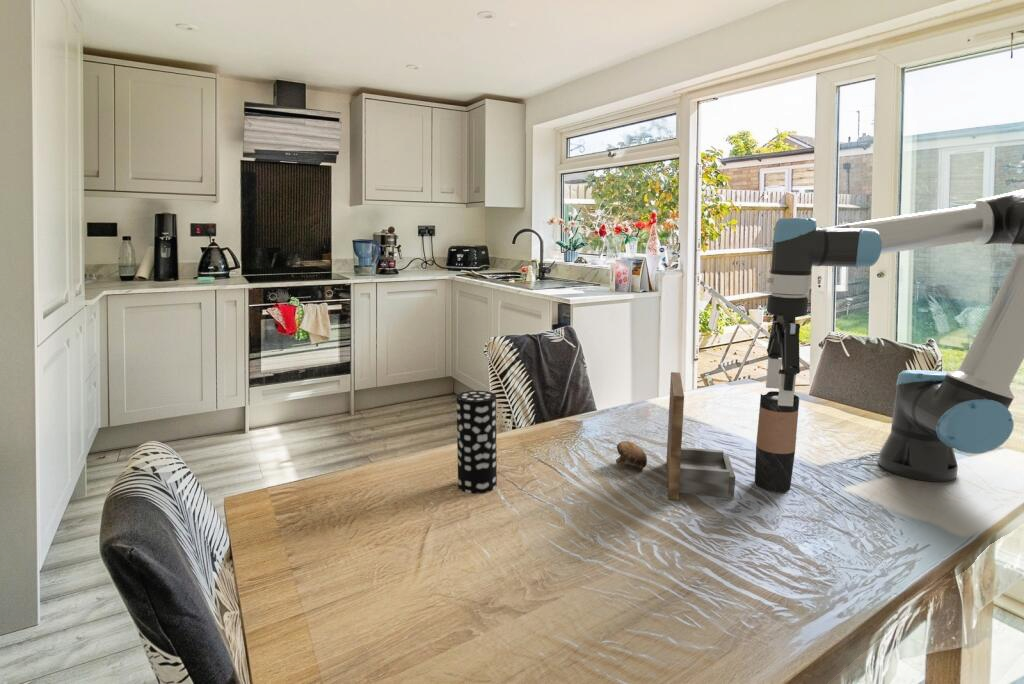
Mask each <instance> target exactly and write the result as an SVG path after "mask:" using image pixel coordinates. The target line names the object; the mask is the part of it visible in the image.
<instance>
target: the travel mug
mask: <svg viewBox="0 0 1024 684" xmlns="http://www.w3.org/2000/svg"><path fill="white" fill-rule="evenodd" d="M778 395H779V390H778V391H776V390H775V391H773V390H772V391H770V390H769V391H767V392H766V394H762V393H760V402H759V408H758V409H759V412H758V413H759V414H758V421H757V431H756V432H757V434H756V446H755V465H754V485H755V486H756V487H757V488H759V489H761V490H764V491H767V492H771V493H786V492H788V491H789V490H791V486H792V479H793V469H794V464H795V463H794V462H795V455H796V454H795V453H796V445H797V433H798V431H797V430H798V422H799V421H798V419H799V408H800V397H799V396H798V395H796V394H794V401H793V406H780V405H778Z"/></svg>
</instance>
